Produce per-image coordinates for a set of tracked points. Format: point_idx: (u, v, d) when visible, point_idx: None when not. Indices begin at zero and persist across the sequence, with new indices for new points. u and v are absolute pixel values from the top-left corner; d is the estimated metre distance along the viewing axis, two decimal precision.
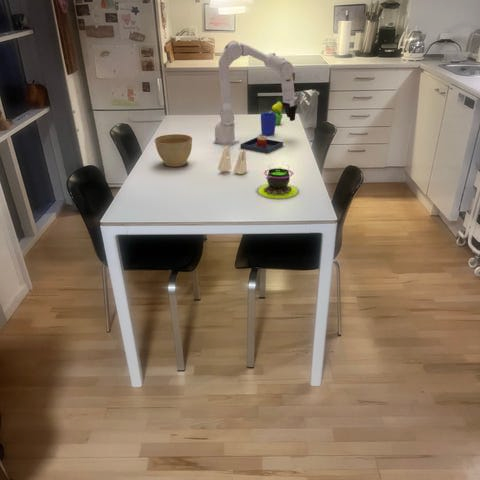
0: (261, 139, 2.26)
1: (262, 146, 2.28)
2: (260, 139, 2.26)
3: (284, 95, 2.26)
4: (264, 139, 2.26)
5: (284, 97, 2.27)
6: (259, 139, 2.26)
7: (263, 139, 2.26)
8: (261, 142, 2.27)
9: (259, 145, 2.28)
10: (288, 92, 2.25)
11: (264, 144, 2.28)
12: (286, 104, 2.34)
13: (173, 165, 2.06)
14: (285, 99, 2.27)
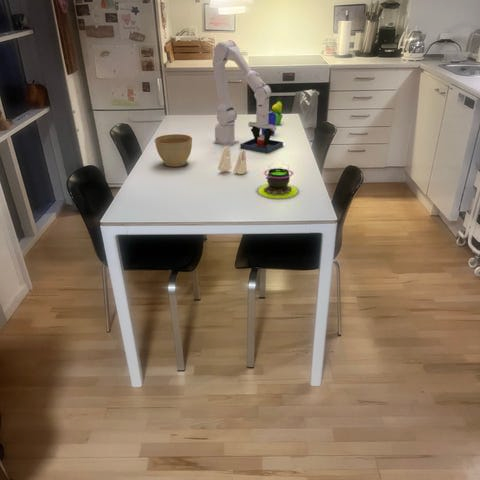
0: (261, 139, 2.26)
1: (262, 146, 2.28)
2: (260, 139, 2.26)
3: (262, 121, 2.21)
4: (264, 139, 2.26)
5: (262, 122, 2.21)
6: (259, 139, 2.26)
7: (263, 139, 2.26)
8: (261, 142, 2.27)
9: (259, 145, 2.28)
10: (266, 117, 2.21)
11: (264, 144, 2.28)
12: (256, 130, 2.26)
13: (173, 165, 2.06)
14: (263, 124, 2.22)
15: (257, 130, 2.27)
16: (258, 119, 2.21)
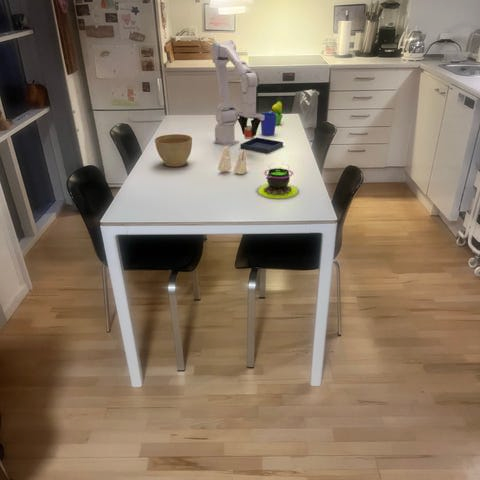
0: (248, 129, 2.15)
1: (249, 137, 2.16)
2: (247, 129, 2.15)
3: (249, 110, 2.09)
4: (251, 129, 2.15)
5: (249, 111, 2.10)
6: (246, 129, 2.15)
7: (250, 129, 2.15)
8: (248, 132, 2.15)
9: (246, 136, 2.17)
10: (254, 106, 2.09)
11: None
12: (243, 120, 2.15)
13: (173, 165, 2.06)
14: (250, 113, 2.10)
15: (244, 120, 2.16)
16: (245, 108, 2.10)
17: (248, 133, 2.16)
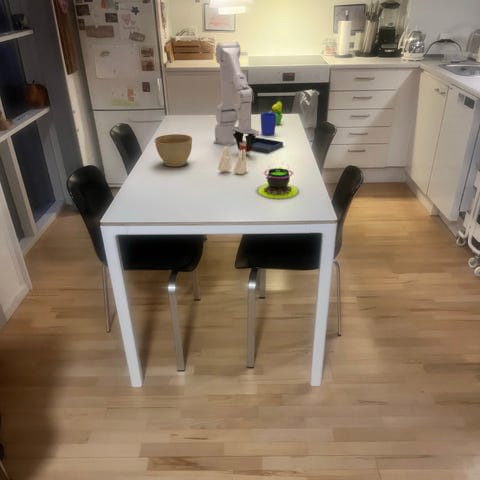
0: (243, 145, 2.15)
1: None
2: (242, 144, 2.16)
3: (244, 125, 2.10)
4: (246, 145, 2.16)
5: (244, 127, 2.10)
6: (241, 144, 2.16)
7: (245, 145, 2.15)
8: (243, 148, 2.16)
9: None
10: (248, 122, 2.10)
11: (246, 150, 2.17)
12: (239, 135, 2.16)
13: (173, 165, 2.06)
14: (245, 129, 2.11)
15: (240, 135, 2.17)
16: (240, 124, 2.10)
17: (243, 148, 2.16)
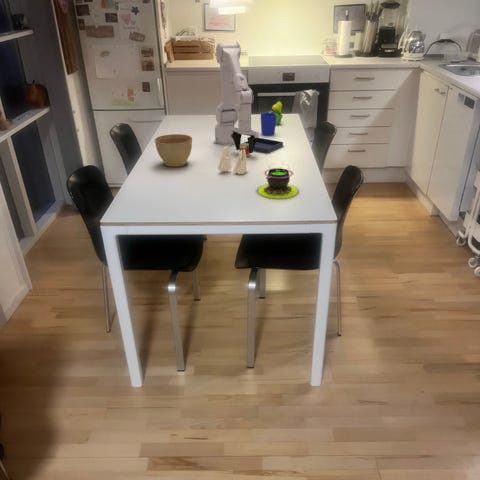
0: (243, 147, 2.16)
1: None
2: (242, 147, 2.16)
3: (244, 127, 2.10)
4: (246, 147, 2.16)
5: (244, 128, 2.11)
6: (241, 147, 2.17)
7: (245, 147, 2.16)
8: None
9: None
10: (248, 123, 2.10)
11: (246, 152, 2.18)
12: (237, 136, 2.17)
13: (173, 165, 2.06)
14: (245, 130, 2.11)
15: (238, 136, 2.17)
16: (240, 125, 2.11)
17: None
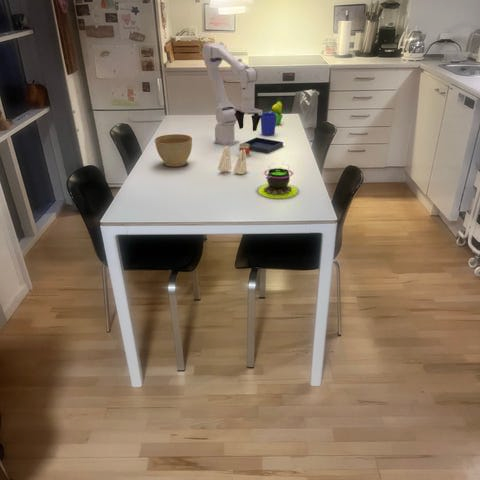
0: (243, 147, 2.16)
1: None
2: (242, 147, 2.16)
3: (248, 105, 2.14)
4: (246, 147, 2.16)
5: (247, 106, 2.15)
6: (241, 147, 2.17)
7: (245, 147, 2.16)
8: None
9: None
10: (252, 101, 2.14)
11: (246, 152, 2.18)
12: (240, 115, 2.21)
13: (173, 165, 2.06)
14: (249, 108, 2.15)
15: (241, 114, 2.21)
16: (243, 103, 2.14)
17: None
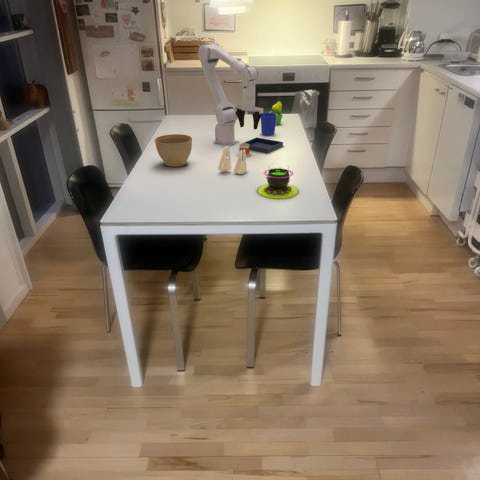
0: (243, 147, 2.16)
1: None
2: (242, 147, 2.16)
3: (249, 103, 2.16)
4: (246, 147, 2.16)
5: (248, 105, 2.16)
6: (241, 147, 2.17)
7: (245, 147, 2.16)
8: None
9: None
10: (253, 100, 2.16)
11: (246, 152, 2.18)
12: (241, 113, 2.22)
13: (173, 165, 2.06)
14: (250, 107, 2.17)
15: (242, 113, 2.23)
16: (244, 101, 2.16)
17: None
